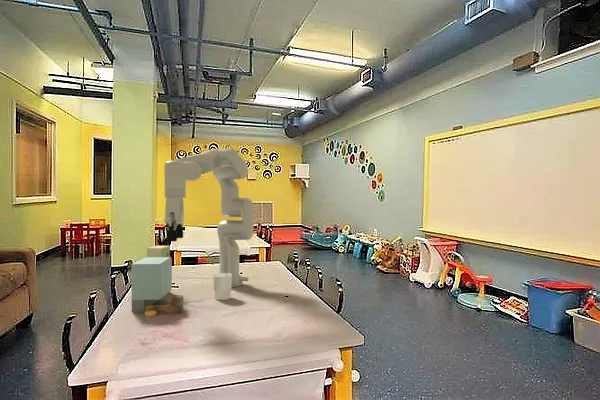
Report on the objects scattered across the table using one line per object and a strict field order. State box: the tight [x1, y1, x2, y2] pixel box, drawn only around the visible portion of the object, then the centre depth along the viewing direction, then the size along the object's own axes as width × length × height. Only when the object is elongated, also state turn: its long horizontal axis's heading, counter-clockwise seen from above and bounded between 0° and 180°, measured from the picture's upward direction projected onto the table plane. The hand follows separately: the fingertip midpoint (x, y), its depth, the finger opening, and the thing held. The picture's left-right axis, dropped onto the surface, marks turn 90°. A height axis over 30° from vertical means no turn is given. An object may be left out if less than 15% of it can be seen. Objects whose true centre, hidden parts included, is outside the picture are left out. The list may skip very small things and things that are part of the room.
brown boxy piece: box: [144, 294, 184, 314], centre depth 149 cm, size 13×4×6 cm, turn 93°
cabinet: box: [130, 256, 173, 313], centre depth 158 cm, size 11×16×18 cm
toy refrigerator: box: [146, 245, 171, 293], centre depth 177 cm, size 8×7×21 cm
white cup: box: [212, 272, 232, 301], centre depth 170 cm, size 8×8×10 cm
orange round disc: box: [144, 310, 157, 318], centre depth 146 cm, size 4×4×2 cm
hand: (175, 239), depth 150 cm, fingers open, 9 cm apart
